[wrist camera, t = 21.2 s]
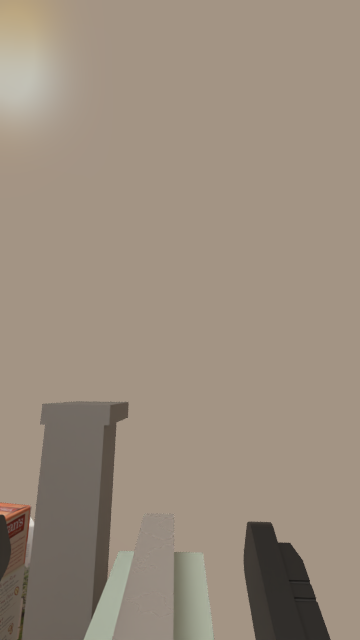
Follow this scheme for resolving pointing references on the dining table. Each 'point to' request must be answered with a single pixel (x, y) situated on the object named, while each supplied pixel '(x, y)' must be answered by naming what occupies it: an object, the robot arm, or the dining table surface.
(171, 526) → the aluminium bar
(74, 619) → the pedestal stand
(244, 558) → the robot arm
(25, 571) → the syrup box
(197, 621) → the block
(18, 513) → the cracker box
